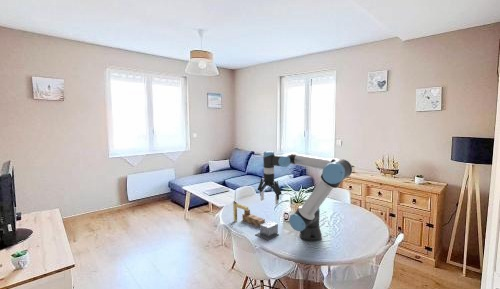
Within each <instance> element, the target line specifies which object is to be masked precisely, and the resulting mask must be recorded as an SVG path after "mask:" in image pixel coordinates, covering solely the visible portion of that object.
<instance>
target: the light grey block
mask: <svg viewBox="0 0 500 289" xmlns="http://www.w3.org/2000/svg"><path fill="white" fill-rule="evenodd" d="M259 233H260V234H261V235H263V236H266V237H268V238H269V237H271V236H273V235H275V234H279V224H278V223H277V222H275V221H271V220H267V221H266V222H265V223H263V224H261V225H260V227H259Z"/></svg>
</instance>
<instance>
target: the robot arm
mask: <svg viewBox="0 0 500 289" xmlns="http://www.w3.org/2000/svg"><path fill="white" fill-rule="evenodd" d="M262 155H263V157H262V158H263V177H262V178H260V182H259V184H258V188H257V191H258V192H259V196H260V201H264V200H265V199H264V198H265V195H264V194H265V192H264V189H266V187H270V188H271V189H272V190H273V192H274V194H275V195H274V196H275V197H274V200H275V201H274V202H275V205H279V200H280V196H281V195H282V194H283V193H282V191H281V188H280V185H279V181H278V180H275V166H276V167H282V168H284V167H285V168H288V167H289V166H290V165H297V166H301V167H307V168H312V169H318V170H322V172H321V173H322V174H321V175H320V181H319V182H318V184H317V185H316V187H315V188H314V189H313V191H312V192H311V194H310V195H309V196H308V197H307V199H306V200H305V202H304V203H303V204H302V205H300V206H298V208H297V209H296V210H295V212H294V213H292V214H291V215H290V216H289V217H288V218H289V219H288V220H289V225H290V227H291V228H292V229H293V230H294V231H296V232H299V237H300V239H301V240H304V241H307V242H319V241H321V239H322V238H323V237H322V236H323V235H322V232H321V229H320V212H321V211H320V207H321V206H322V204H323V203H324V201H325V200H327V199H326V198H328V196H329V195H330V194H331V192H332V191H333V190H334V189H337V188H339V186H340V185H341V184H342V182H343V181H344V180H346V179H347V178H349V177H350V176H351V175H352V172H353V166H352V164H351V163H350V161H348V160H346V159H341V158H333V157H332V158H324V157H318V156H314V155H313V156H311V155H305V154H299V153H297V152H294V151H293V152H292V151H291V152H288V153H285V154H279V155H278V154H275V152H274V151H272V150H266V151H264V152H263V154H262Z"/></svg>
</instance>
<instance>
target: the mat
mask: <svg viewBox="0 0 500 289" xmlns="http://www.w3.org/2000/svg"><path fill="white" fill-rule="evenodd" d="M254 235H255V236H256V237H258V238H260V239H263V240H265V241H270V240H271V239H274V238H276V237H277V236H279V233H277V234H275V235H273V236H271V237H269V238H268V237H266V236H263V235H261V234H260V232H258V233H255V234H254Z"/></svg>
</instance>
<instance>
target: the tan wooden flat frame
mask: <svg viewBox="0 0 500 289" xmlns="http://www.w3.org/2000/svg"><path fill="white" fill-rule="evenodd" d="M237 202H238V201H237V200H233V202H232V205H233V222H237V221H238V209H240V210H243V211H244V210H246V211H248V209H249V206H246V205H243V204H241V203H237Z"/></svg>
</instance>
